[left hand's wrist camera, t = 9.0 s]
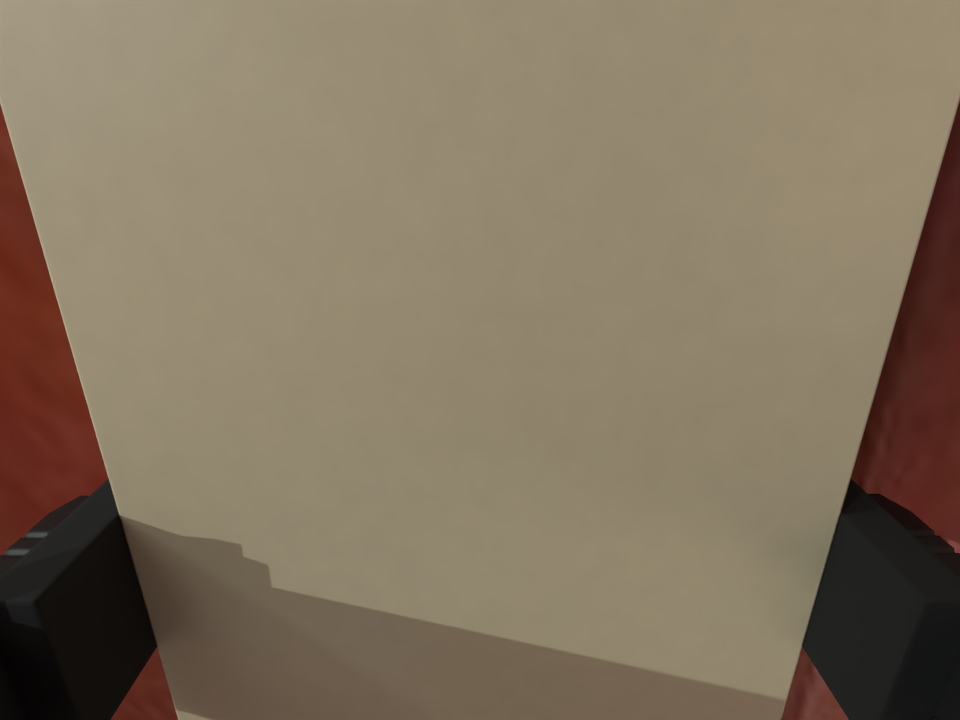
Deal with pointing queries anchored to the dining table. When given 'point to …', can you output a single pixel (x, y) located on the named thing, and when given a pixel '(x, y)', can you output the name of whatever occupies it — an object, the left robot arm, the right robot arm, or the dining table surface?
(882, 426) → the dining table surface
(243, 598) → the cream rectangular box
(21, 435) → the dining table surface
